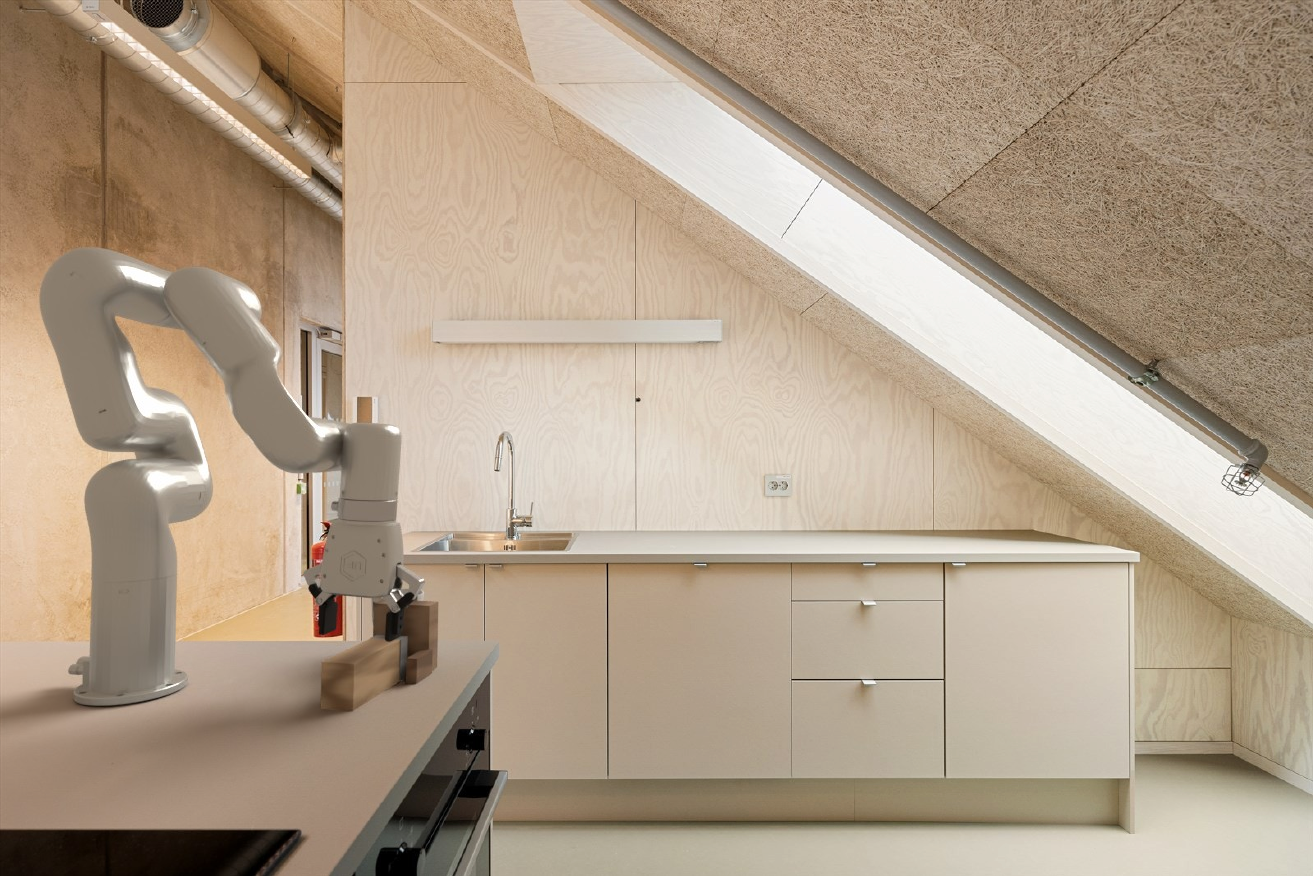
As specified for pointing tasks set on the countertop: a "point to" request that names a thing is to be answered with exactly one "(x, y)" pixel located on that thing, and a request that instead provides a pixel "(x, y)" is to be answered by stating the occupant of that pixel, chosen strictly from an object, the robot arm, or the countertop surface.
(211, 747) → the countertop surface
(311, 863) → the countertop surface
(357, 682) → the wooden block
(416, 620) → the wooden footed block
